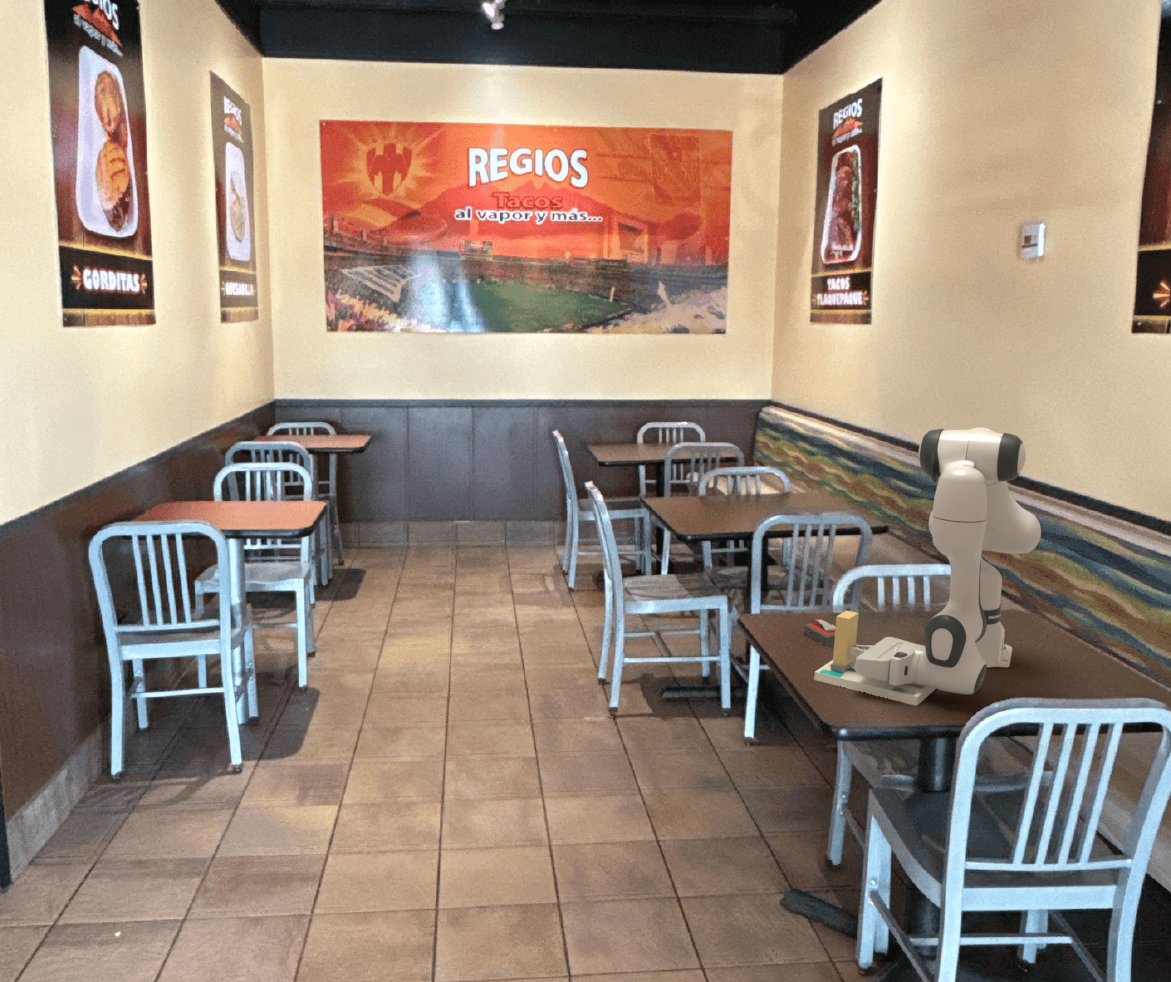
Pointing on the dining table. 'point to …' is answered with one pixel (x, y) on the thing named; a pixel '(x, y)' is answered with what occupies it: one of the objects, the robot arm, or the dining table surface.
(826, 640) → the red toggle switch
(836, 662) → the slider tab
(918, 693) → the switch track
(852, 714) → the dining table surface
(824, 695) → the dining table surface
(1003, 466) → the robot arm
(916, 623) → the dining table surface
